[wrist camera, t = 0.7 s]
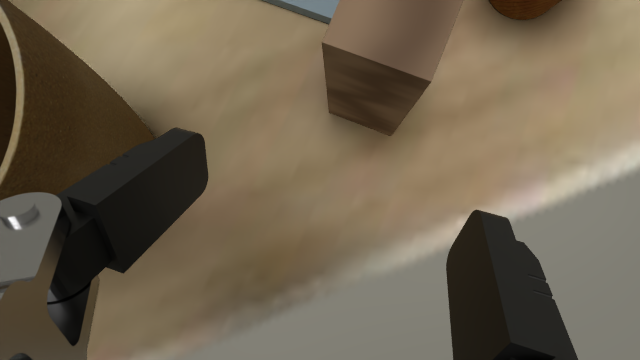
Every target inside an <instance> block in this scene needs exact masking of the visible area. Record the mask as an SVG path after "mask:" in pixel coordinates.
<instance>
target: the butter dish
mask: <svg viewBox="0 0 640 360" xmlns="http://www.w3.org/2000/svg"><path fill="white" fill-rule="evenodd" d="M262 1H265V2H268V3H271V4H274V5H277V6H279V7H282V8H285V9H288V10H291V11H294V12H296V13H299V14H302V15H305V16H308V17H311V18H313V19H316V20H319V21H322V22H325V23H328V24H330V22H331V19H332V17H333V14H334V12H335V10H336V7H337V5H338V3H339V0H262Z"/></svg>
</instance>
